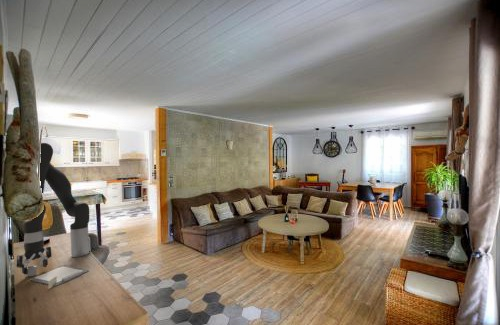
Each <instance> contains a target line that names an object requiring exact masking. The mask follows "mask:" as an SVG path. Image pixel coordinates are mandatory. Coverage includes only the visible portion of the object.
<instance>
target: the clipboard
mask: <svg viewBox="0 0 500 325" xmlns="http://www.w3.org/2000/svg"><path fill="white" fill-rule="evenodd" d="M89 271H90V270H88V269H83V268H78V267H74V266H68V265H62V266H60V267H57V268H54V269H52V270H50V271H47V272H45V273H42V274H40V275H36V276H34V277H32V278H30V279H29V281H31V280H32V281H31V282H35V283H40V284H43V283H44V284H45V285H47V286H48V281H49V280H51V279H52V278H53V277H55V276H57V282H56V283H55V284H54V285H53V287H54V288H55V287H58V286H60V285H63V284H64V283H67V282H68V281H70V280H71V281H72V280H73V279H76V278H78V277H79V276H81V275H85V274H86V273H89ZM44 284H43V285H44Z"/></svg>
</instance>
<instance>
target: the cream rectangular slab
mask: <svg viewBox="0 0 500 325" xmlns="http://www.w3.org/2000/svg"><path fill="white" fill-rule="evenodd" d="M56 282H57V276H55V277H53V278H52V279H51V280H49V281H48V285H47V286H48V289H49V290H50V289H52V287H54V286H53V285H54V284H55V283H56Z"/></svg>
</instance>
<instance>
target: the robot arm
mask: <svg viewBox="0 0 500 325" xmlns="http://www.w3.org/2000/svg"><path fill="white" fill-rule="evenodd" d="M40 143H41V163H40V181H41V187H42V193H43V194H44V192H45V182H46V183H47V185H48V186H49V187H50V189H51V190H52V191H53V192H54V194H55V195H56V197H57V199H58V200H59V201H60V203H61V205H62V207H63V208H64V210H65V212H66V214H67V215H68V216H69V217H71V218H74V222H72V223H70V228H69V229H70V230H69V231H70V249H71V250H70V251H71V254H70V255H71V257H72V258H79V257H83V256H86V255H88V254H90V253H91V251H92V250H91V237H90V236H89V224H90V205H89V204H88V203H86V202H79V201H77V200H76V199H75V197H74V195H73V194H72V184H71V182H70V180H69V178H68V177H67V176H66V174H65V173H64V172H63V171H61V170H60V169H58V168H57V167H55V166H54V165H53V164H52V163H51V161H52V158H53V155H54V149H53V147H52V145H51V144H50V143H48V142H40ZM46 207H47V206H46V205H45V204H44V210H43V212H42V213H41V214H40V215H39V216H38V217H36V218H34V219H30V220H27V221H25V222H24V226H23V227H24V230H23V231H24V236H23V239H24V240H23V241H24V242H23V244H24V254H21V255H20V254H18V255H17V256H16V268H19V269H21V273H22V274H23V275H24V276H25V275H26V274H28V270H27V268H28V266H29V264H30V263H31V262H32V261H35V260H37V259H40V258H44V260H43V262H42V267H43V268H47V266H48V265H49V262H48V261H49V259H50V258H52V256H53V254H52V248H51V246H48V245H47V246H46V247H45V242H44V241H45V240H44V231H43V221H44V218H45V213H46V210H47V208H46ZM89 251H90V252H89ZM44 252H45V254H46V255H45V254H44ZM24 258H25V259H24Z"/></svg>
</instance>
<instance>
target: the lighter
mask: <svg viewBox="0 0 500 325" xmlns="http://www.w3.org/2000/svg"><path fill="white" fill-rule="evenodd" d="M43 260H44V258H41V257H40V258H39V260H38V262H37V265H34V264H31V265H27V270H28V274H26V278H29V277H32V276H38V268H40V267H41V265H43ZM28 276H29V277H28Z"/></svg>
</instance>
